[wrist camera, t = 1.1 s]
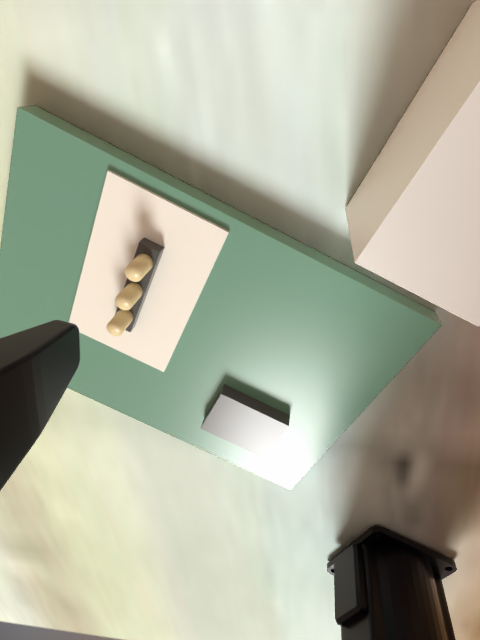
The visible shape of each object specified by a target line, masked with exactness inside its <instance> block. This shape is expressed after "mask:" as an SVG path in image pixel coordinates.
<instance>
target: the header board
mask: <svg viewBox="0 0 480 640" xmlns="http://www.w3.org/2000/svg"><path fill="white" fill-rule="evenodd" d="M53 320H62V321H65V322H69V323H73V324H75V325H77V326H78V328H79V336H80V363H79V366H78V369H77V371H76V372H75V374H74V376H73V378H72V380H71V381H70V383H69V385H68V387H67V388H69V389H71V390H73V391H76V392H78V393H80V394H82V395H84V396H87V397H89V398H91V399H93V400H95V401H97V402H100V403H102V404H104V405H106V406H108V407H110V408H113V409H115V410H117V411H119V412H121V413H123V414H126V415H128V416H130V417H132V418H134V419H137V420H139V421H141V422H143V423H145V424H147V425H150V426H152V427H154V428H156V429H158V430H160V431H163V432H165V433H167V434H169V435H171V436H173V437H176V438H178V439H180V440H182V441H184V442H187V443H189V444H191V445H193V446H195V447H197V448H200V449H202V450H204V451H206V452H208V453H210V454H213V455H215V456H217V457H219V458H221V459H223V460H226V461H228V462H230V463H232V464H234V465H237V466H239V467H241V468H243V469H245V470H247V471H250V472H252V473H254V474H256V475H258V476H260V477H263V478H265V479H267V480H269V481H271V482H273V483H276V484H278V485H280V486H282V487H284V488H287V489H289V490H291V489H292V488H293V487H294V486H295V485H296V484H297V483H298V482H299V480H300V479H301V478H302V477H303V476H304V475H305V474H306V473H307V472H308V471H309V469H310V468H311V467H312V466H313V465H314V464H315V463H316V462H317V461H318V460H319V459H320V457H321V456H322V455H323V454H324V453H325V452H326V451H327V450H328V449H329V448H330V447H331V445H332V444H333V443H334V442H335V441H336V440H337V439H338V438H339V437H340V436H341V435H342V433H343V432H344V431H345V430H346V429H347V428H348V427H349V426H350V425H351V424H352V423H353V421H354V420H355V419H356V418H357V417H358V416H359V415H360V414H361V413H362V412H363V411H364V409H365V408H366V407H367V406H368V405H369V404H370V403H371V402H372V401H373V400H374V399H375V397H376V396H377V395H378V394H379V393H380V392H381V391H382V390H383V389H384V388H385V387H386V385H387V384H388V383H389V382H390V381H391V380H392V379H393V378H394V377H395V376H396V375H397V373H398V372H399V371H400V370H401V369H402V368H403V367H404V366H405V365H406V364H407V363H408V361H409V360H410V359H411V358H412V357H413V356H414V355H415V354H416V353H417V352H418V351H419V349H420V348H421V347H422V346H423V345H424V344H425V343H426V342H427V341H428V340H429V339H430V337H431V336H432V335H433V334H434V333H435V332H436V331H437V330H438V329H439V328H440V327H441V325H442V324H441V322H440V320H439V318H438V316H437V314H436V312H435V311H433V310H431V309H429V308H427V307H425V306H423V305H421V304H419V303H417V302H415V301H413V300H411V299H410V298H408V297H406V296H404V295H402V294H400V293H398V292H396V291H394V290H392V289H390V288H388V287H386V286H384V285H382V284H380V283H379V282H377V281H375V280H373V279H371V278H369V277H367V276H365V275H363V274H361V273H359V272H357V271H355V270H353V269H351V268H349V267H348V266H346V265H344V264H342V263H340V262H338V261H336V260H334V259H332V258H330V257H328V256H326V255H324V254H322V253H320V252H318V251H317V250H315V249H313V248H311V247H309V246H307V245H305V244H303V243H301V242H299V241H297V240H295V239H293V238H291V237H289V236H287V235H285V234H284V233H282V232H280V231H278V230H276V229H274V228H272V227H270V226H268V225H266V224H264V223H262V222H260V221H258V220H256V219H254V218H253V217H251V216H249V215H247V214H245V213H243V212H241V211H239V210H237V209H235V208H233V207H231V206H229V205H227V204H225V203H223V202H222V201H220V200H218V199H216V198H214V197H212V196H210V195H208V194H206V193H204V192H202V191H200V190H198V189H196V188H194V187H192V186H191V185H189V184H187V183H185V182H183V181H181V180H179V179H177V178H175V177H173V176H171V175H169V174H167V173H165V172H163V171H161V170H160V169H158V168H156V167H154V166H152V165H150V164H148V163H146V162H144V161H142V160H140V159H138V158H136V157H134V156H132V155H130V154H128V153H127V152H125V151H123V150H121V149H119V148H117V147H115V146H113V145H111V144H109V143H107V142H105V141H103V140H101V139H99V138H97V137H96V136H94V135H92V134H90V133H88V132H86V131H84V130H82V129H80V128H78V127H76V126H74V125H72V124H70V123H68V122H66V121H65V120H63V119H61V118H59V117H57V116H55V115H53V114H51V113H49V112H47V111H45V110H43V109H41V108H39V107H37V106H24V107H17V115H16V123H15V132H14V140H13V148H12V156H11V165H10V173H9V181H8V190H7V198H6V206H5V214H4V223H3V231H2V239H1V248H0V338H2V337H5V336H8V335H11V334H14V333H17V332H20V331H23V330H26V329H29V328H32V327H35V326H38V325H41V324H44V323H47V322H50V321H53Z"/></svg>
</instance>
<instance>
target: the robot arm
mask: <svg viewBox="0 0 480 640" xmlns="http://www.w3.org/2000/svg"><path fill="white" fill-rule="evenodd" d="M79 363H80V336H79V328H78V326H77V325H75V324H73V323H69V322H65V321H62V320H53V321H50V322H47V323H44V324H41V325H38V326H35V327H32V328H29V329H26V330H23V331H20V332H17V333H14V334H11V335H8V336H5V337H2V338H0V490H1V489H2V488H3V486H4V485H5V484H6V482H7V481H8V479H9V478H10V477H11V475H12V474H13V472H14V471H15V470H16V468H17V467H18V465H19V464H20V463H21V461H22V460H23V458H24V457H25V456H26V454H27V453H28V451H29V450H30V449H31V447H32V446H33V444H34V443H35V441H36V440H37V439H38V437H39V436H40V434H41V432H42V431H43V429H44V427H45V426H46V424H47V422H48V421H49V419H50V417H51V415H52V413H53V412H54V410H55V408H56V406H57V405H58V403H59V401H60V399H61V397H62V396H63V394H64V392H65V390H66V388H67V387H68V385H69V383H70V381H71V380H72V378H73V376H74V374H75V372H76V371H77V369H78V366H79ZM456 570H457V568H456V564H455V562H454V561H453V560H452V559H449V558H447V557H445V556H443V555H441V554H439V553H436V552H434V551H432V550H430V549H428V548H426V547H423V546H421V545H419V544H417V543H415V542H413V541H410V540H408V539H406V538H404V537H402V536H400V535H397V534H395V533H393V532H391V531H389V530H387V529H384V528H382V527H379V526H375V527H372V528H370V529H369V530H368V531H367V532H366V533H364V534H363V535H362V536H361V537H359V538H358V539H357V540H356V541H354V542H353V543H352V544H351V545H349V546H348V547H347V548H346V549H345V550H343V551H342V552H341V553H340V554H338V555H337V556H336V557H335V558H333V559H332V560H331V561H330V562H329V563H328V564H327V571H328V572H329V573H330V574H332V575H334V586H335V619H336V622H337V624H338V625H341V637H342V640H455V636H454V631H453V627H452V623H451V619H450V614H449V610H448V606H447V602H446V597H445V593H444V589H443V585H442V579H444V578H445V577H447V576H449V575H450V574H452V573H454V572H455V571H456Z"/></svg>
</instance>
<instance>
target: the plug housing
mask: <svg viewBox="0 0 480 640" xmlns="http://www.w3.org/2000/svg"><path fill="white" fill-rule="evenodd" d="M345 210H346V216H347V221H348V227H349V233H350V239H351V245H352V251H353V256H354V262H355V263H356V264H358V265H360V266H362V267H363V268H365V269H367V270H369V271H371V272H373V273H375V274H377V275H379V276H381V277H383V278H385V279H387V280H389V281H391V282H392V283H394V284H396V285H398V286H400V287H402V288H404V289H406V290H408V291H410V292H412V293H414V294H416V295H418V296H419V297H421V298H423V299H425V300H427V301H429V302H431V303H433V304H435V305H437V306H439V307H441V308H443V309H445V310H447V311H448V312H450V313H452V314H454V315H456V316H458V317H460V318H462V319H464V320H466V321H468V322H470V323H472V324H474V325H476V326H477V327H479V326H480V0H477V1H475V2H473V3H472V5H471V6H470V8H469V10H468V11H467V13H466V15H465V16H464V18H463V19H462V21H461V23H460V24H459V26H458V27H457V29H456V31H455V32H454V34H453V36H452V37H451V39H450V40H449V42H448V44H447V45H446V47H445V48H444V50H443V52H442V53H441V55H440V57H439V58H438V60H437V61H436V63H435V65H434V66H433V68H432V69H431V71H430V73H429V74H428V76H427V78H426V79H425V81H424V82H423V84H422V86H421V87H420V89H419V90H418V92H417V94H416V95H415V97H414V99H413V100H412V102H411V103H410V105H409V107H408V108H407V110H406V111H405V113H404V115H403V116H402V118H401V120H400V121H399V123H398V124H397V126H396V128H395V129H394V131H393V132H392V134H391V136H390V137H389V139H388V141H387V142H386V144H385V145H384V147H383V149H382V150H381V152H380V153H379V155H378V157H377V158H376V160H375V162H374V163H373V165H372V166H371V168H370V170H369V171H368V173H367V174H366V176H365V178H364V179H363V181H362V183H361V184H360V186H359V187H358V189H357V191H356V192H355V194H354V196H353V197H352V199H351V200H350V202H349V204H348V205H347V207H346V208H345Z"/></svg>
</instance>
